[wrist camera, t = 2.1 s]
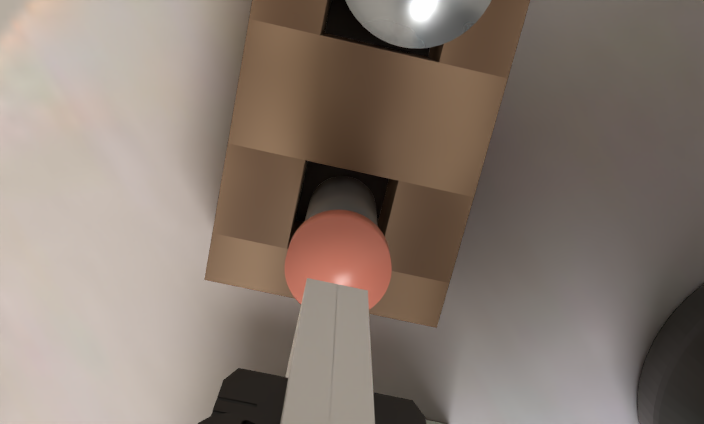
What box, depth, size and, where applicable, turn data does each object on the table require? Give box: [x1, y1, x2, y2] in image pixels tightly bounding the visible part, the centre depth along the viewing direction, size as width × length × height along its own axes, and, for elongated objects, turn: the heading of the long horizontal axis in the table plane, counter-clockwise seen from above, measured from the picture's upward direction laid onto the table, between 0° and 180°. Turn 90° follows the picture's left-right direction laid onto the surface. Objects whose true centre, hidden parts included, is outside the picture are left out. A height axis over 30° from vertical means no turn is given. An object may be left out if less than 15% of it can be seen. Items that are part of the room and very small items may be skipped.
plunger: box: [285, 176, 392, 309], centre depth 24 cm, size 3×3×7 cm
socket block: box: [205, 0, 530, 328], centre depth 27 cm, size 10×18×4 cm, turn 167°
